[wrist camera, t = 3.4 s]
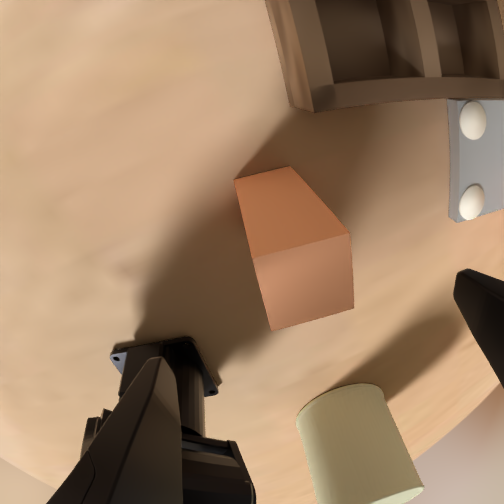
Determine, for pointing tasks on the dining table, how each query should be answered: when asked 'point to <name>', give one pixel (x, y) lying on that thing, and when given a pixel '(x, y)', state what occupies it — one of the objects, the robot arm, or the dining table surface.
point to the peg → (295, 248)
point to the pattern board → (476, 157)
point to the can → (356, 449)
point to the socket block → (387, 50)
